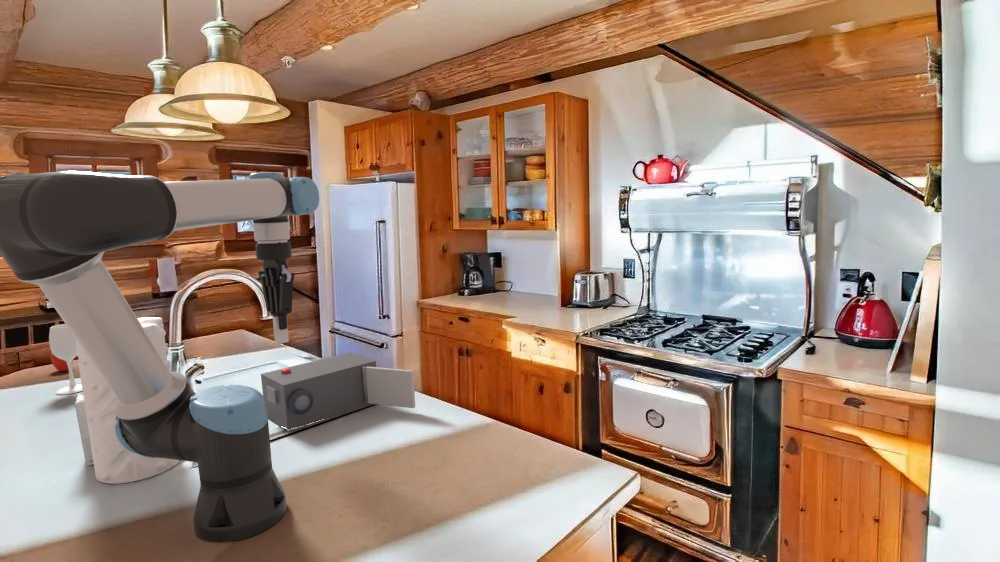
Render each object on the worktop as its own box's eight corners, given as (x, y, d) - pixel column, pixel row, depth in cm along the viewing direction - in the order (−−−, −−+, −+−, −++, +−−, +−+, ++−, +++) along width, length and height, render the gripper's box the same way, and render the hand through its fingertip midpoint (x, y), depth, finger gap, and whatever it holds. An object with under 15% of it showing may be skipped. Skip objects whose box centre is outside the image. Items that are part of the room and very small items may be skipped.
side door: (367, 400, 153) (364, 365, 151) (416, 406, 147) (414, 369, 146) (364, 402, 151) (361, 367, 150) (413, 408, 146) (411, 371, 144)
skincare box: (117, 459, 125) (107, 396, 123) (84, 467, 122) (74, 402, 120) (117, 446, 132) (108, 386, 130) (86, 453, 129) (76, 392, 127)
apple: (48, 373, 196) (44, 352, 195) (64, 367, 203) (61, 347, 201) (63, 373, 195) (60, 352, 194) (79, 368, 201) (76, 348, 200)
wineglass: (76, 394, 172) (66, 328, 169) (49, 395, 172) (38, 329, 169) (97, 385, 180) (87, 322, 177) (70, 386, 181) (60, 322, 178)
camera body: (383, 404, 154) (379, 359, 152) (289, 435, 135) (284, 384, 133) (353, 391, 165) (349, 349, 163) (263, 418, 147) (258, 371, 145)
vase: (83, 494, 111) (58, 337, 106) (102, 460, 125) (81, 321, 121) (181, 473, 118) (161, 326, 113) (188, 444, 132) (171, 312, 127)
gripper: (302, 241, 125) (311, 343, 128) (275, 240, 134) (283, 335, 137) (270, 243, 120) (279, 350, 123) (244, 242, 128) (253, 341, 132)
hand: (281, 342), depth 130 cm, fingers closed
